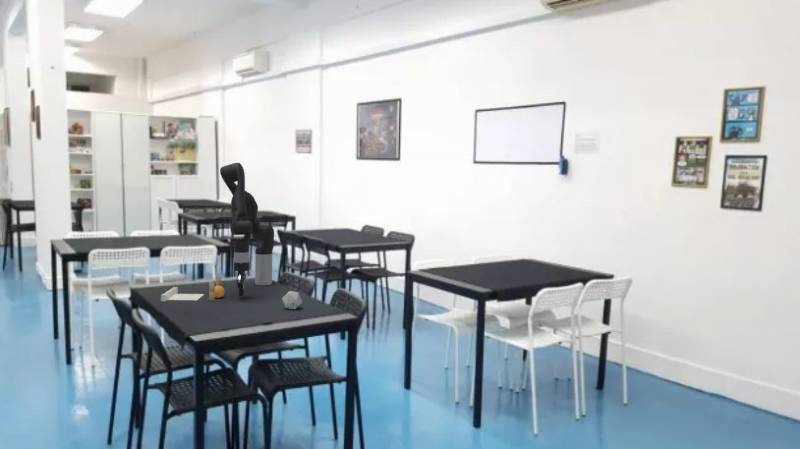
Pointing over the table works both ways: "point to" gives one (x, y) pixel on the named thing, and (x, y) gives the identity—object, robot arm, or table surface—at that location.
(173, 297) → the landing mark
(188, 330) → the table surface
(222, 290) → the ball
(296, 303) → the die
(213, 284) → the post
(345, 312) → the table surface
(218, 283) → the post
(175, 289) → the stopper wall
